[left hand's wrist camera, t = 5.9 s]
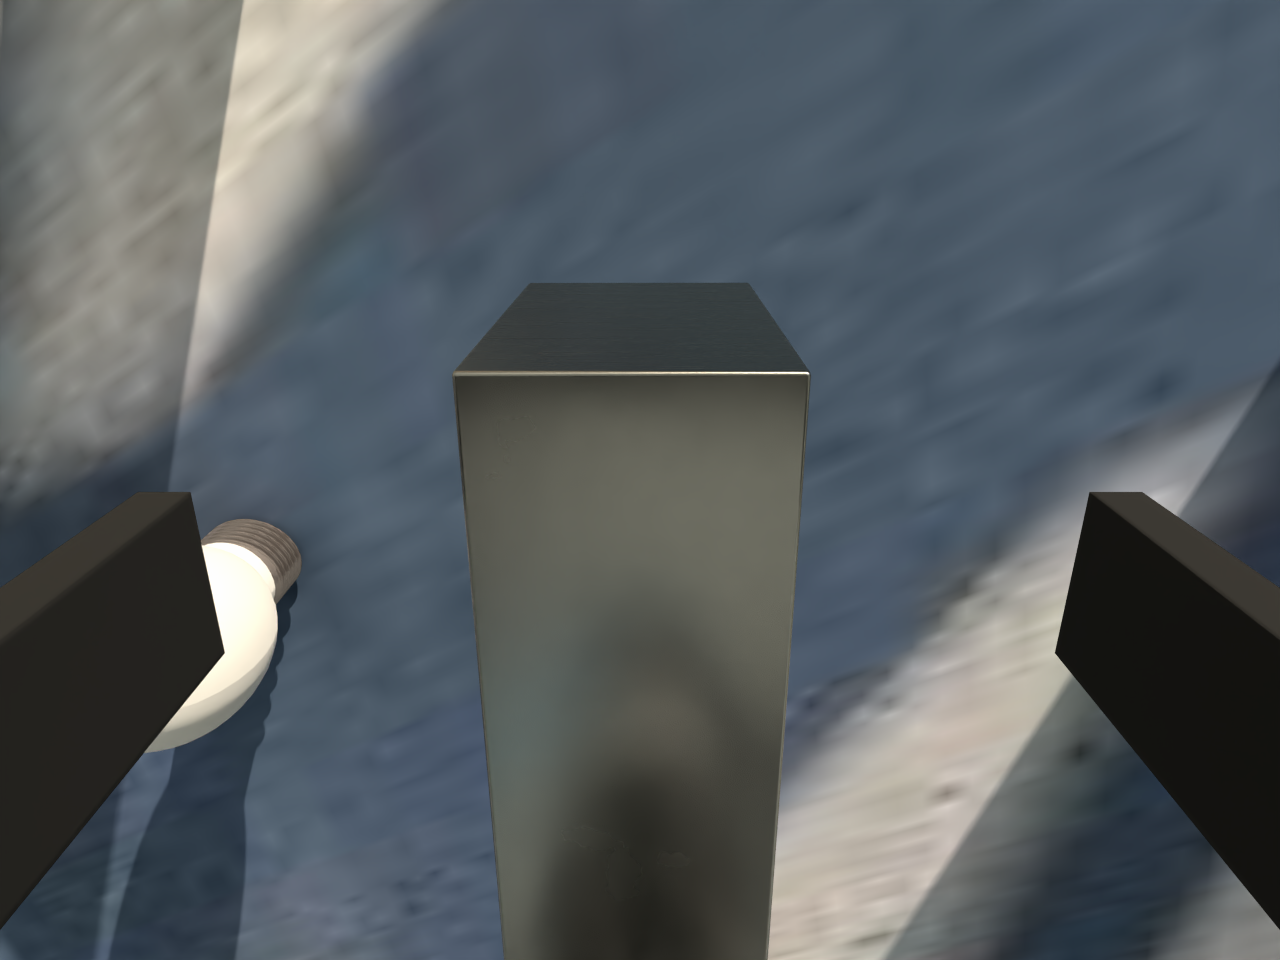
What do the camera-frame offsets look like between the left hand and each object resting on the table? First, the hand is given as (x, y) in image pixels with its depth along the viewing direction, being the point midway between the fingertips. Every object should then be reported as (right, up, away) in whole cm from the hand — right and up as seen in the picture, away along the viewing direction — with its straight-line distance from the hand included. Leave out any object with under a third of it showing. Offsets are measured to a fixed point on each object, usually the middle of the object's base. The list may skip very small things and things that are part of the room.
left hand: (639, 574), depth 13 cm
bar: (0, -6, +13) cm, 14 cm away
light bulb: (-17, -2, +24) cm, 30 cm away
